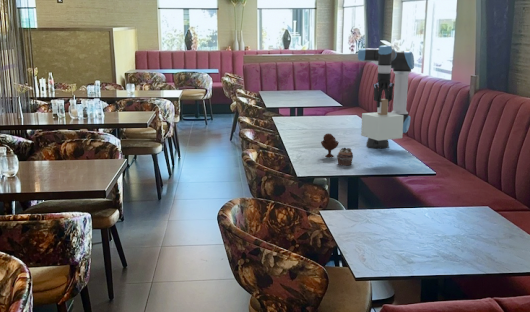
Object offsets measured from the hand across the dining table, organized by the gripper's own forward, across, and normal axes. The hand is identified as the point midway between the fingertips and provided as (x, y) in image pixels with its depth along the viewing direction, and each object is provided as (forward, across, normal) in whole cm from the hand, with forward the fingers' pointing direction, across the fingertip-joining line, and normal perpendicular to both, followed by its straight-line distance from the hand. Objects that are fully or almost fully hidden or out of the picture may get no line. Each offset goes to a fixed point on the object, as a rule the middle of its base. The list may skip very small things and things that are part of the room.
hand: (382, 112), depth 322 cm
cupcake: (+31, +21, -7) cm, 38 cm away
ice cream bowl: (+31, +19, -28) cm, 46 cm away
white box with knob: (+15, 0, 0) cm, 15 cm away
